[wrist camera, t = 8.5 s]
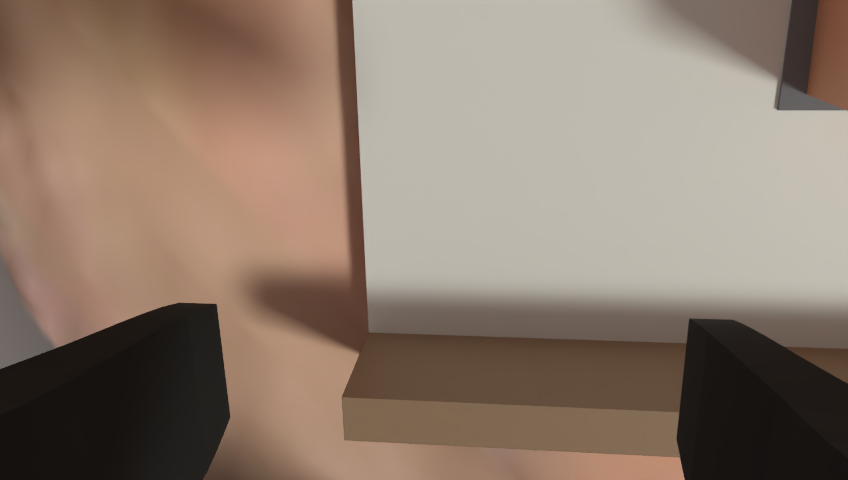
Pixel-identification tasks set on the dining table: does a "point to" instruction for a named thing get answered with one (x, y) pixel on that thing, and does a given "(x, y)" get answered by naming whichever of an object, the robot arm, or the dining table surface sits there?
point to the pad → (800, 60)
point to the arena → (582, 215)
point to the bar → (830, 54)
